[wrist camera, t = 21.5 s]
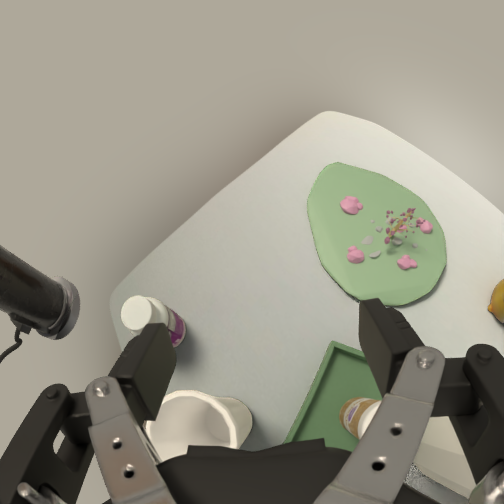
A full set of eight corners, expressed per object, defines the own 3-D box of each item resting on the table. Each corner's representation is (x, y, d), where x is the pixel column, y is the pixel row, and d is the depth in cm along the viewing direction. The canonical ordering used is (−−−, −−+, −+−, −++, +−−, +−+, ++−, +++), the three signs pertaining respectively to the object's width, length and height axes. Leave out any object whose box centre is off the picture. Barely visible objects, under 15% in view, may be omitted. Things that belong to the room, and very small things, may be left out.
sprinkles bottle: (342, 395, 32) (368, 398, 20) (378, 398, 31) (420, 401, 19) (334, 430, 30) (356, 453, 18) (370, 433, 29) (408, 454, 17)
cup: (215, 378, 35) (170, 371, 23) (272, 408, 33) (257, 421, 20) (186, 429, 33) (129, 444, 20) (241, 460, 30) (210, 497, 17)
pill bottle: (155, 353, 38) (117, 340, 29) (149, 317, 40) (113, 296, 32) (190, 345, 38) (160, 330, 29) (183, 308, 40) (153, 284, 32)
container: (498, 377, 28) (585, 354, 12) (481, 471, 22) (561, 490, 6) (417, 377, 31) (499, 360, 15) (396, 481, 25) (459, 530, 9)
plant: (264, 214, 45) (256, 175, 37) (353, 148, 48) (358, 109, 40) (388, 338, 34) (413, 322, 26) (465, 241, 38) (491, 210, 30)
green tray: (376, 475, 26) (382, 481, 24) (282, 445, 30) (280, 449, 28) (420, 375, 31) (428, 373, 29) (329, 343, 35) (332, 340, 33)
